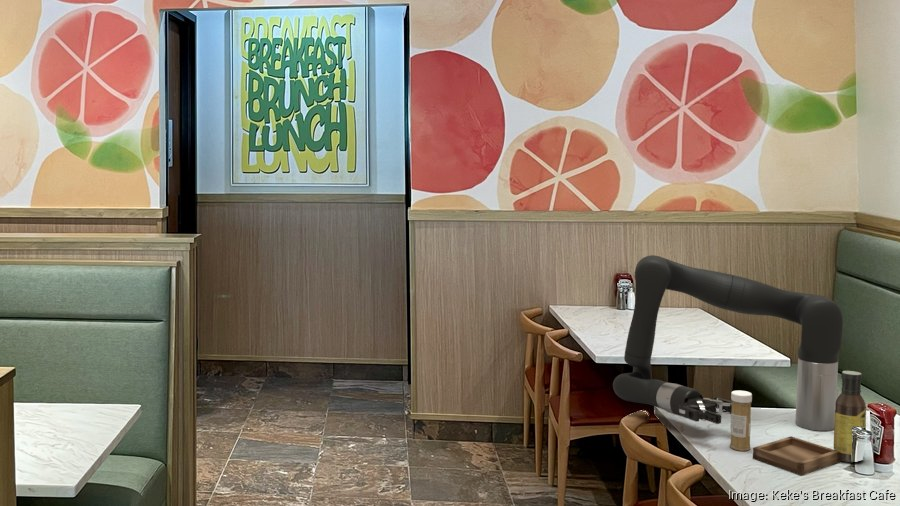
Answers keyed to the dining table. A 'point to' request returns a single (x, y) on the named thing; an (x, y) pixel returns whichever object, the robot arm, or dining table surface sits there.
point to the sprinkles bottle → (740, 420)
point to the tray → (796, 455)
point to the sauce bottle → (848, 413)
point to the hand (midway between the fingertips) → (732, 416)
